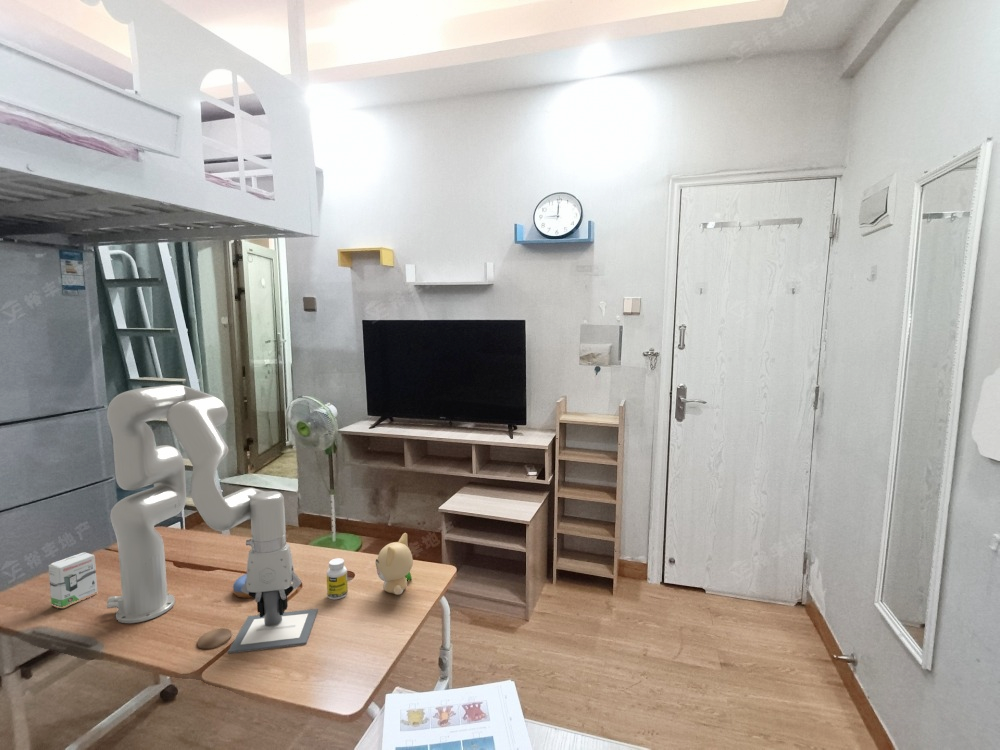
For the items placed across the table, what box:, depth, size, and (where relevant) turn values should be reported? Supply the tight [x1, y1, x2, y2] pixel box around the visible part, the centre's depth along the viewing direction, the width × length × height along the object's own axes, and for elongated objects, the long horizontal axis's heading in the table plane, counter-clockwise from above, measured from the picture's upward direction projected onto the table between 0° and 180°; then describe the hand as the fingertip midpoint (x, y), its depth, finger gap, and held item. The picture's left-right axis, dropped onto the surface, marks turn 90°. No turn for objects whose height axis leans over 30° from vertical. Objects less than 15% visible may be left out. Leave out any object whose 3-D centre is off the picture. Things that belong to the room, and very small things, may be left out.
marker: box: [263, 590, 282, 626], centre depth 120 cm, size 4×4×11 cm
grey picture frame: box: [227, 608, 319, 654], centre depth 118 cm, size 17×14×1 cm
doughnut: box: [232, 573, 252, 599], centre depth 137 cm, size 10×10×5 cm
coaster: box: [197, 627, 233, 650], centre depth 115 cm, size 7×7×1 cm
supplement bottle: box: [326, 557, 349, 600], centre depth 134 cm, size 5×5×10 cm
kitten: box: [375, 532, 414, 596], centre depth 136 cm, size 15×10×15 cm, turn 164°
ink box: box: [48, 551, 98, 607], centre depth 132 cm, size 9×5×12 cm, turn 159°
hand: (272, 612), depth 120 cm, fingers closed on marker, 3 cm apart
